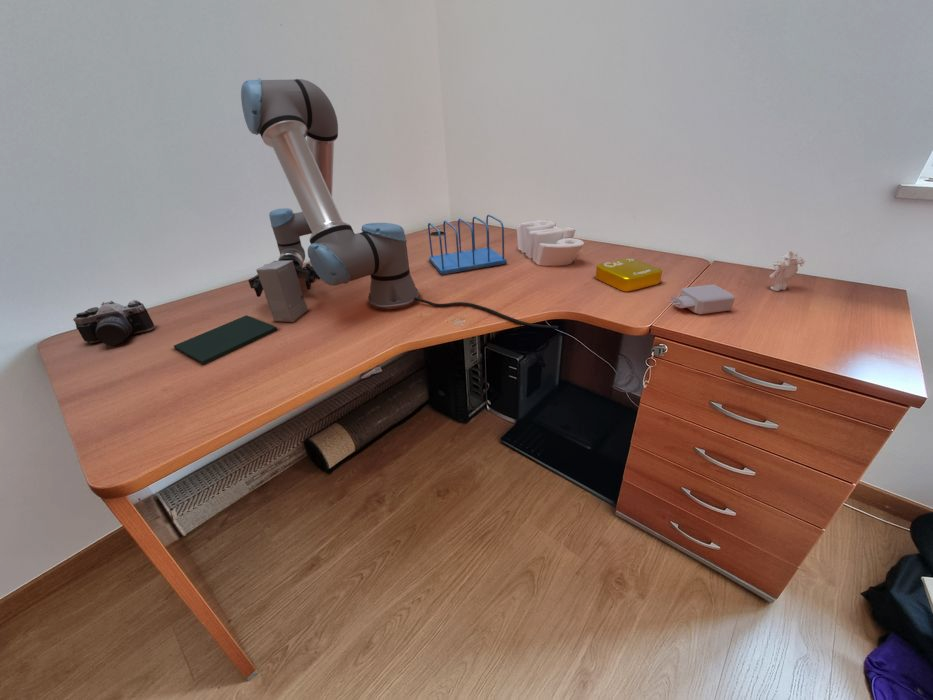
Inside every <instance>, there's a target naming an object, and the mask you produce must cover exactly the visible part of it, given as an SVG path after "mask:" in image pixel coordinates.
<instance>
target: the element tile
mask: <svg viewBox="0 0 933 700" xmlns="http://www.w3.org/2000/svg"><path fill="white" fill-rule="evenodd" d="M662 275H663V269H662V268H660V267H657V266H654V265H651V264H648V263H646V262H643V261H641V260H638V259H636V258H633V257H626V258H621V259H617V260H612V261H607V262H602V263H599V264H597V265H596V270H595V279H596V280H599V281H600V282H603V283H605V284H606V285H609V286H610V287H612V288H615V289H617V290H619V291H622V292H627V293H628V292H633V291H637V290H640V289H644V288H648V287H652V286H656V285H658V284H660V283H661V280H662Z"/></svg>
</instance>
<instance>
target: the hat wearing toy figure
mask: <svg viewBox="0 0 933 700" xmlns="http://www.w3.org/2000/svg"><path fill="white" fill-rule="evenodd" d="M781 257H782V258H780V259H778V260H776V261H774V262H773V269H775V271H773V272H772V273H771V274H770V275H769V276H768V278H769V280H772V279H773V278H775V277H776V276H777V275H778V276H777V277H776V279H775V281H774V285H771V286H770V287H769V289H770V290H771V291H776V292H781V291H782V290H783V291H786V289H787V287H788V285H787V282H788V280H789V278H790V277H794V276H796V275H797V272H799V266H800V267H803V266H804V265H805V263H806V259H804V257H803V256H799V253H798V252H795V251H794V252H793V250H790V251H789V252H786V253H785V255H781ZM783 258H784V259H783ZM798 265H799V266H798Z"/></svg>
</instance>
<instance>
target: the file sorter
mask: <svg viewBox="0 0 933 700" xmlns="http://www.w3.org/2000/svg"><path fill="white" fill-rule="evenodd" d="M489 218H491V219H493V220H495V221H497V222H498V223H499V224H500V225H501V237H502V238H501V245H502V246H501V251H502V252H501V253H502V254H500V253H498V252H497V251H496V250H494V249H493V248H492V247H490V229H489ZM475 220H477V221H479V222H480V223H482V224H484V225H485V229H486V247H482V248H476V243H475V241H476V240H475ZM460 222H462V223H464V224H465V225H466V226H468V227H469V229H470V232H471V249H468V250H462V239H461V228H460V227H461V225H460ZM471 222H472V225H471V224H470V223H468V222H467V221H466V220H464V219H462V218H458V219H457V228H456V227H455V226H454V225H452V223H450V222H449V221H447V220H443V222H442V223H443V226H442V227H443V237H444V250H445V253H444V252H443V243H442V235H441V232H440V229H438V228H437V227H436V226H435V225H434V224H433V223H432V222H428V223H427V231H428V240H429V247H430V256H429V257H428V258H429V263H431V264H432V265H433V266H434V268H435V269H436V271H438V273H439V274H440V275H448V274H449V275H450V274H453V273H454V274H455V273H459V272H466V271H472V270H477V269H482V268H489V267H494V266H499V265H505V264H506V265H507V263H508V261H507V258H505V227H504V223H503V221H502V219H501V220H500V219H499V218H497V217H495V216H493V215H491V214H487V215H486V217H485V221H484V220H482V219H480V218H479V217H477V216H473V217H472V221H471ZM446 224H447V225H448V226H449V227H451V228H452V229H453V230H454V233H455V244H456V252H450V253H448V248H447V247H448V245H447V236H446ZM431 227H432V228H433V229H434V230H435V231H436V232H437V234H438V238H439V250H440V254H437V255H434V253H433V245H432V237H431V236H432V235H431Z"/></svg>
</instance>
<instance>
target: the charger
mask: <svg viewBox="0 0 933 700" xmlns="http://www.w3.org/2000/svg"><path fill="white" fill-rule="evenodd" d="M735 300H736V296H735V295H734V294H733V293H731V292H730V291H728V290H726V289H724V288H722V287H720V286H718V285H716V284H714V283H713V284H705V285H696V286H689V287H682V289H681V290H680V293H679V296H672V297H671V298H670V300H668V301H667V302H668V303H672V304H671V305H672V306H675V307H677V308H678V309H685V308H686V309H688V310H689V311H691V312H693V313H695V314H697V315H705V314H714V313H722V312H728V311H729V312H730V311H731V310H733V309H732V308H733V306H734V302H735Z"/></svg>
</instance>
